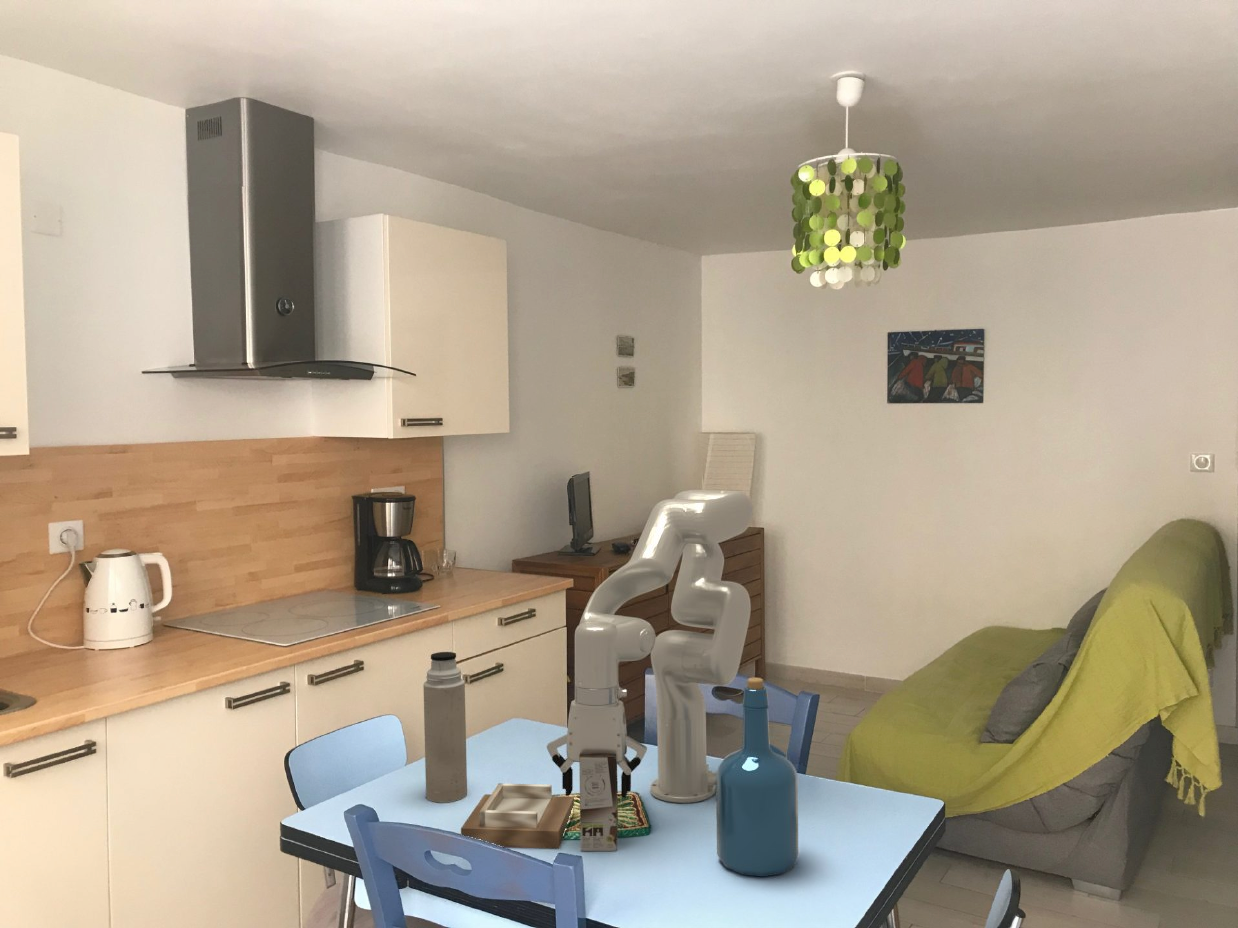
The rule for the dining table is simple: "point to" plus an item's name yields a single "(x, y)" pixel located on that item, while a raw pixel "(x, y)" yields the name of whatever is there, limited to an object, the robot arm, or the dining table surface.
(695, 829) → the dining table surface
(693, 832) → the dining table surface
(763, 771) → the wine bottle
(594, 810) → the coffee box
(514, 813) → the dock
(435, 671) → the thermos bottle
